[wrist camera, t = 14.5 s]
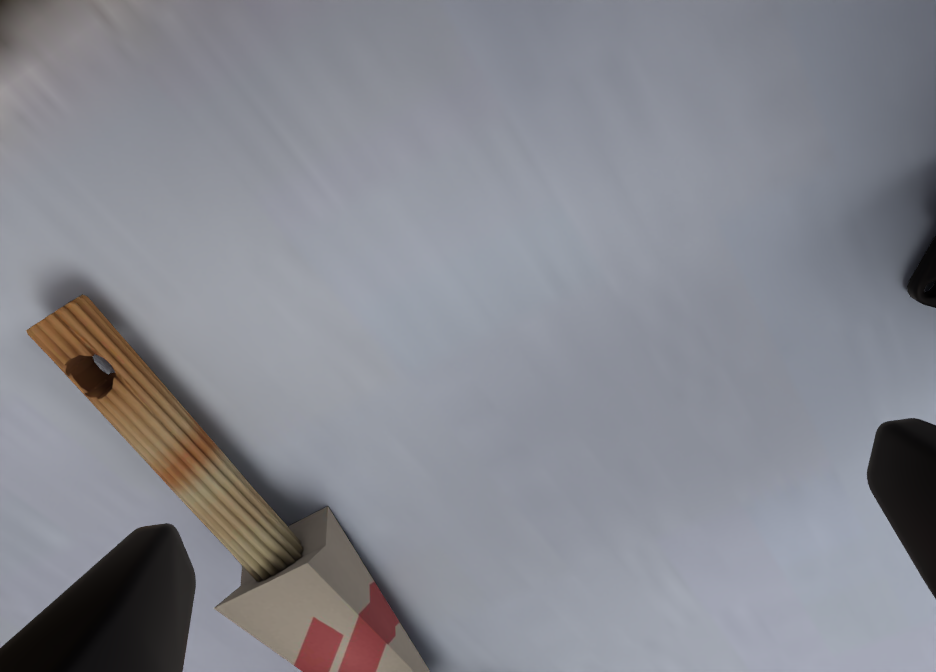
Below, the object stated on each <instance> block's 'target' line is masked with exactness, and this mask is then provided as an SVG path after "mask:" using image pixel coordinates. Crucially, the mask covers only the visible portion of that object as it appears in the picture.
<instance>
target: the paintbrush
mask: <svg viewBox="0 0 936 672" xmlns="http://www.w3.org/2000/svg"><path fill="white" fill-rule="evenodd" d="M26 331H27V333H28V335H29V336H30V337H31V338H32V339H33V340H34V341H35V342H36V343H37V344H38V346H39V347H40V348H41V349H42V350H43V351H44V352H45V353H46V354H47V355H48V356H49V357H50V358H51V359H52V360H53V361H54V362H55V364H56V365H57V366H58V367H59V368H60V369H61V370H62V371H63V372H64V373H65V374H66V375H67V377H68V378H69V379H70V380H71V381H72V382H73V383H74V384H75V385H76V386H77V387H78V388H79V390H80V391H81V392H82V393H83V394H84V395H85V396H86V397H87V398H88V399H89V400H90V401H91V403H92V404H93V405H94V406H95V407H96V408H97V409H98V410H99V411H100V412H101V413H102V414H103V416H104V417H105V418H106V419H107V420H108V421H109V422H110V423H111V424H112V425H113V426H114V427H115V429H116V430H117V431H118V432H119V433H120V434H121V435H122V436H123V437H124V438H125V439H126V440H127V442H128V443H129V444H130V445H131V446H132V447H133V448H134V449H135V450H136V451H137V452H138V453H139V455H140V456H141V457H142V458H143V459H144V460H145V461H146V462H147V463H148V464H149V465H150V466H151V468H152V469H153V470H154V471H155V472H156V473H157V474H158V475H159V476H160V477H161V478H162V479H163V481H164V482H165V483H166V484H167V485H168V486H169V487H170V488H171V489H172V490H173V491H174V492H175V494H176V495H177V496H178V497H179V498H180V499H181V500H182V501H183V502H184V503H185V504H186V506H187V507H188V508H189V509H190V510H191V511H192V512H193V513H194V514H195V515H196V516H197V517H198V518H199V519H200V520H201V521H202V522H203V524H204V525H205V526H206V527H207V528H208V529H209V530H210V531H211V532H212V533H213V534H214V535H215V536H216V537H217V538H218V539H219V540H220V542H221V543H222V544H223V545H224V546H225V547H226V548H227V549H228V550H229V551H230V552H231V553H232V554H233V556H234V557H235V558H236V559H237V560H238V561H239V562H240V563H241V565H242V575H241V586H240V587H239V588H238V589H236V590H235V591H234V592H233V593H232V594H230V595H229V596H228V597H227V598H225V599H224V600H223V601H222V602H221V603H219V604H218V605H217V606H216V607H215V608H214V609H215V610H217V611H218V612H220V613H221V614H223V615H224V616H225V617H227V618H228V619H230V620H231V621H232V622H234V623H235V624H237V625H238V626H239V627H241V628H242V629H244V630H245V631H246V632H248V633H249V634H251V635H252V636H253V637H255V638H256V639H258V640H259V641H260V642H262V643H263V644H265V645H266V646H267V647H269V648H270V649H272V650H273V651H275V652H276V653H277V654H279V655H280V656H282V657H283V658H284V659H286V660H287V661H289V662H290V663H291V664H293V665H294V666H296V667H297V668H298V669H300V670H301V671H303V672H430V671H429V669H428V667H427V666H426V664H425V662H424V661H423V659H422V658H421V656H420V654H419V653H418V651H417V650H416V648H415V646H414V645H413V643H412V641H411V640H410V638H409V637H408V635H407V633H406V632H405V630H404V629H403V627H402V625H401V624H400V622H399V620H398V619H397V617H396V616H395V614H394V612H393V611H392V609H391V608H390V606H389V604H388V603H387V601H386V599H385V598H384V596H383V595H382V593H381V591H380V590H379V588H378V586H377V585H376V583H375V582H374V580H373V578H372V577H371V575H370V574H369V572H368V570H367V569H366V567H365V565H364V564H363V562H362V561H361V559H360V557H359V556H358V554H357V553H356V551H355V549H354V548H353V546H352V544H351V543H350V541H349V540H348V538H347V536H346V535H345V533H344V532H343V530H342V528H341V527H340V525H339V523H338V522H337V520H336V519H335V517H334V515H333V514H332V512H331V511H330V509H329V507H326V508H324V509H322V510H320V511H318V512H316V513H314V514H312V515H310V516H308V517H306V518H304V519H302V520H300V521H298V522H296V523H294V524H292V525H290V526H287V525H286V524H285V523H284V522H283V521H282V520H281V518H280V517H279V516H278V515H277V514H276V513H275V512H274V511H273V509H272V508H271V507H270V506H269V505H268V504H267V503H266V502H265V501H264V499H263V498H262V497H261V496H260V495H259V494H258V493H257V492H256V491H255V489H254V488H253V487H252V486H251V485H250V484H249V482H248V481H247V480H246V479H245V478H244V477H243V475H242V474H241V473H240V472H239V471H238V470H237V468H236V467H235V466H234V465H233V464H232V463H231V461H230V460H229V459H228V458H227V457H226V456H225V454H224V453H223V452H222V451H221V450H220V449H219V448H218V446H217V445H216V444H215V443H214V442H213V441H212V439H211V438H210V437H209V436H208V435H207V434H206V433H205V431H204V430H203V429H202V428H201V427H200V426H199V425H198V423H197V422H196V421H195V420H194V419H193V418H192V416H191V415H190V414H189V413H188V412H187V411H186V410H185V408H184V407H183V406H182V405H181V404H180V403H179V401H178V400H177V399H176V398H175V397H174V396H173V395H172V393H171V392H170V391H169V390H168V389H167V388H166V387H165V385H164V384H163V383H162V382H161V381H160V380H159V378H158V377H157V376H156V375H155V374H154V373H153V372H152V370H151V369H150V368H149V367H148V366H147V365H146V363H145V362H144V361H143V360H142V359H141V358H140V357H139V355H138V354H137V353H136V352H135V351H134V350H133V349H132V347H131V346H130V345H129V344H128V343H127V342H126V340H125V339H124V338H123V337H122V336H121V335H120V334H119V332H118V331H117V330H116V329H115V328H114V327H113V326H112V324H111V323H110V322H109V321H108V320H107V319H106V317H105V316H104V315H103V314H102V313H101V312H100V311H99V309H98V308H97V307H96V306H95V305H94V304H93V302H92V301H91V300H90V299H89V298H88V297H87V296H85V295H83V294H82V295H81V296H79V297H77V298H76V299H74V300H73V301H71V302H69V303H68V304H66V305H65V306H63V307H61V308H60V309H58V310H57V311H55V312H54V313H52V314H50V315H49V316H47V317H46V318H45V319H43V320H41V321H40V322H38V323H37V324H35V325H34V326H32V327H31V328H29V329H28V330H26ZM94 354H96V355H98V356H100V357H103V358H104V359H105V360H106V361H107V362H108V363H110V364H111V366H112V367H113V369H114V370H115V373H110V374H109V375H108V374H106V373H105V372H103V371H102V370H101V369H100V368H99V367H98V366H97V365H96V364H95V363H94V360H93V357H92V356H94Z"/></svg>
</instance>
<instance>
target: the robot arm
mask: <svg viewBox="0 0 936 672" xmlns="http://www.w3.org/2000/svg"><path fill="white" fill-rule="evenodd" d="M932 281H934V284H933V287H932V288H931V289H930V290H928V291H926V292H924V290H925V287H926V286H927V285H928V284H929V283H930V282H932ZM907 291H908V294H909V295H910V297H912V298H913V299H915V300H916V301H918V302H920V303H922V304H924V305H927V306H931V307H935V308H936V236H935V237H934V239H933V241H932V242H931V244H930V246H929V248H928V249H927V251H926V253H925V254H924V256H923V258H922V259H921V261H920V263H919V265H918V266H917V268H916V270H915V271H914V273H913V275H912V277H911V278H910V280H909V283H908V285H907ZM867 480H868V484H869V487H870V490H871V492H872V494H873V495H874V497H875V499H876V500H877V502H878V504H879V505H880V507H881V509H882V510H883V512H884V514H885V516H886V517H887V519H888V521H889V522H890V524H891V526H892V527H893V529H894V531H895V532H896V534H897V536H898V538H899V539H900V541H901V543H902V544H903V546H904V548H905V549H906V551H907V553H908V554H909V556H910V558H911V560H912V561H913V563H914V565H915V566H916V568H917V570H918V571H919V573H920V575H921V576H922V578H923V580H924V581H925V583H926V584H927V586H928V588H929V589H930V591H931V592H932V594H933V596H934V597H935V599H936V425H933V424H931V423H928V422H925V421H923V420H920V419H915V418H908V419H901V420H894V421H887V422H885V423H883V424H881V425H880V426H879V428H878V429H877V432H876V435H875V439H874V444H873V448H872V452H871V456H870V461H869V465H868V469H867ZM195 587H196V579H195V572H194V568H193V566H192V563H191V561H190V559H189V556H188V554H187V551H186V549H185V547H184V544H183V542H182V540H181V537H180V535H179V532H178V531H177V529H176V528H175V527H174V526H173V525H172V524H167V523H166V524H158V525H151V526H144V527H140V528H138V529H136V530H134V531H133V532H132V533H131V534H129V535H128V536H127V537H126V538H125V539H124V540H123V541H121V542H120V543H119V544H118V545H117V546H116V547H115V548H114V549H112V550H111V551H110V552H109V553H108V554H107V555H106V556H104V557H103V558H102V559H101V560H100V561H99V562H98V563H97V564H95V565H94V566H93V567H92V568H91V569H90V570H89V571H87V572H86V573H85V574H84V575H83V576H82V577H81V578H79V579H78V580H77V581H76V582H75V583H74V584H73V585H72V586H70V587H69V588H68V589H67V590H66V591H65V592H64V593H62V594H61V595H60V596H59V597H58V598H57V599H56V600H55V601H53V602H52V603H51V604H50V605H49V606H48V607H47V608H45V609H44V610H43V611H42V612H41V613H40V614H39V615H37V616H36V617H35V618H34V619H33V620H32V621H31V622H30V623H28V624H27V625H26V626H25V627H24V628H23V629H22V630H20V631H19V632H18V633H17V634H16V635H15V636H14V637H13V638H11V639H10V640H9V641H8V642H7V643H6V644H5V645H3V646H2V647H1V648H0V672H182V671H183V665H184V659H185V652H186V646H187V639H188V633H189V626H190V620H191V614H192V607H193V601H194V594H195Z"/></svg>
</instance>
